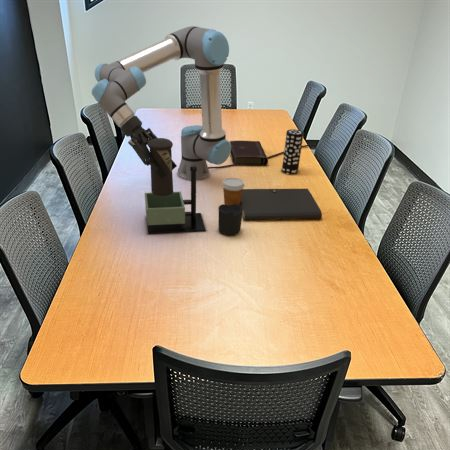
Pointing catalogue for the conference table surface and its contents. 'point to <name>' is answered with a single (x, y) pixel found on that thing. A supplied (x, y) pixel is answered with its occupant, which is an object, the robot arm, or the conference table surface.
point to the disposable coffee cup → (232, 190)
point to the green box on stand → (173, 212)
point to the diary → (248, 153)
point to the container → (163, 156)
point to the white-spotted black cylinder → (292, 151)
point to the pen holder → (230, 219)
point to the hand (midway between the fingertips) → (169, 172)
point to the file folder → (279, 204)
